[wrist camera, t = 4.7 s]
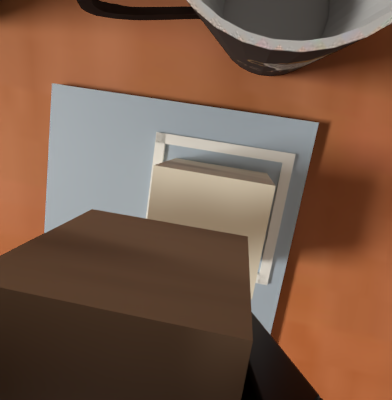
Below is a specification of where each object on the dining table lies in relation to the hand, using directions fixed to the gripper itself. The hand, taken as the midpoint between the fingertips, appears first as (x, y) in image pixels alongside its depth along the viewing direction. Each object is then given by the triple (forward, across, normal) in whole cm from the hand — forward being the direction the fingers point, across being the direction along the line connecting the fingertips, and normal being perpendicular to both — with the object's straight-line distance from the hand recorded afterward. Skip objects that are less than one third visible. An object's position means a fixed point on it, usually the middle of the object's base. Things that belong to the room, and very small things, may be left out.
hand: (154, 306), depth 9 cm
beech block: (+11, -1, 0) cm, 11 cm away
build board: (+12, +2, +3) cm, 12 cm away
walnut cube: (+1, 0, 0) cm, 1 cm away
